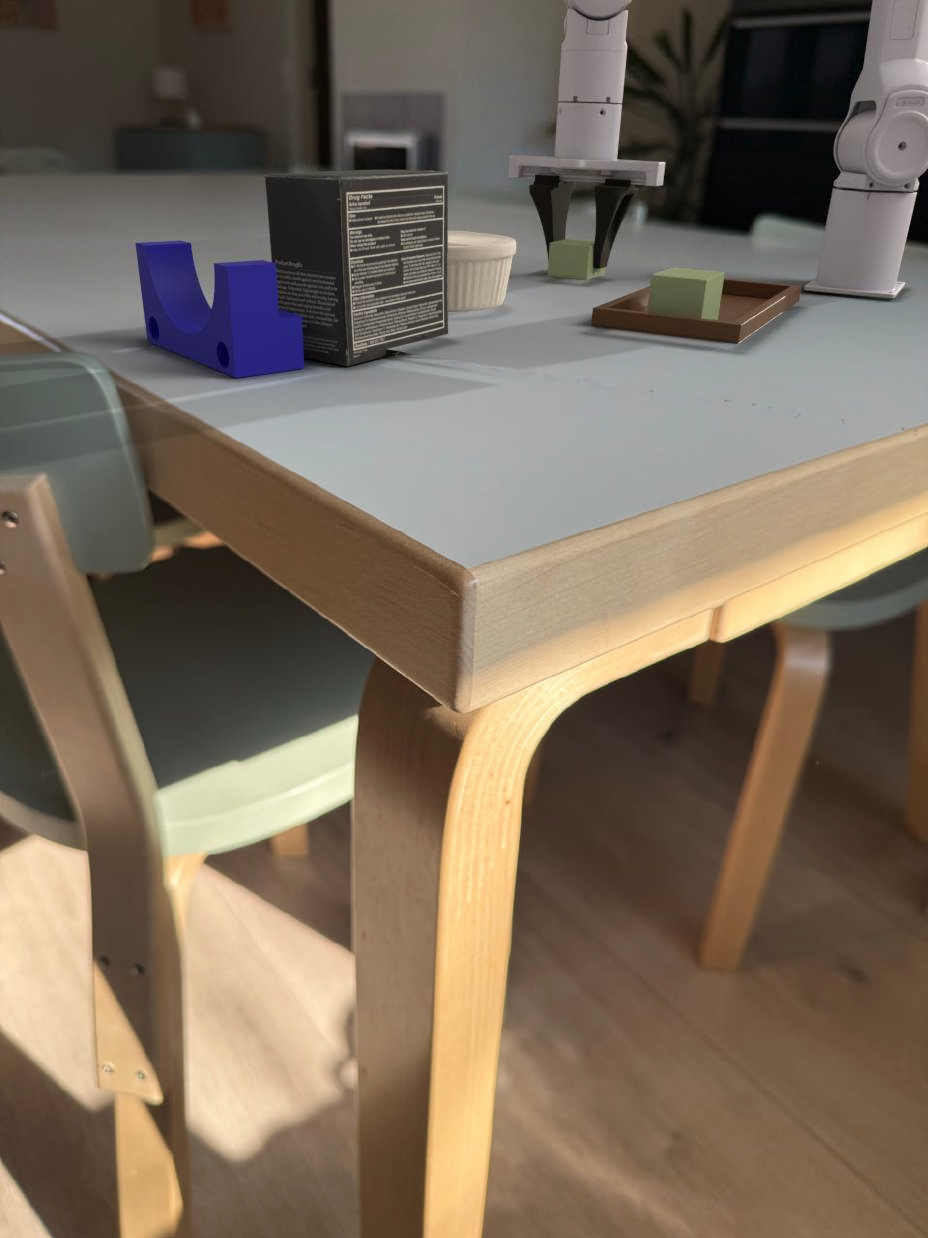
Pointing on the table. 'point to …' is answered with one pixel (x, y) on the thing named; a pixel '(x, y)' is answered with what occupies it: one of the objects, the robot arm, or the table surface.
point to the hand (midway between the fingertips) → (577, 265)
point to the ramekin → (477, 269)
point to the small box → (361, 258)
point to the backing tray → (737, 319)
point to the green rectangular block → (686, 293)
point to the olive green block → (573, 259)
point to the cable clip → (218, 312)
